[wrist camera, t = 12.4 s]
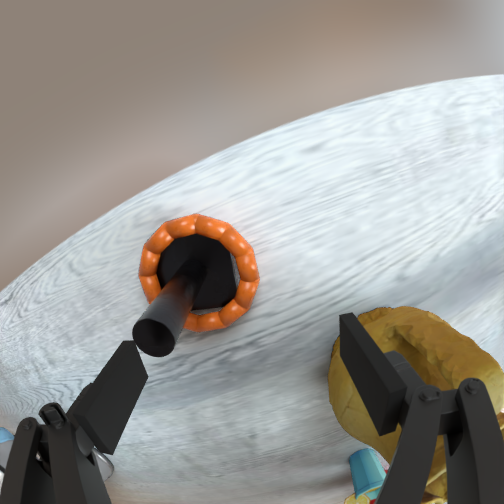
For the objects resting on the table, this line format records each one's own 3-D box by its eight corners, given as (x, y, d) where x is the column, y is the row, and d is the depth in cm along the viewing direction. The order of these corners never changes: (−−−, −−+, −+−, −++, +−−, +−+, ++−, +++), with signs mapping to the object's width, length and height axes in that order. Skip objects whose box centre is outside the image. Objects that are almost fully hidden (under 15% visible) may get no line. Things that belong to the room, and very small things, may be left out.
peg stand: (168, 309, 33) (120, 388, 18) (150, 237, 30) (77, 281, 16) (240, 300, 32) (233, 386, 17) (226, 224, 30) (204, 263, 15)
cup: (393, 430, 39) (420, 485, 25) (397, 445, 41) (421, 495, 26) (328, 460, 41) (342, 519, 26) (338, 472, 43) (352, 525, 28)
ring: (164, 332, 32) (159, 341, 30) (130, 230, 29) (122, 234, 27) (268, 314, 31) (269, 322, 29) (242, 201, 28) (242, 203, 26)
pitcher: (296, 391, 35) (343, 548, 11) (343, 267, 32) (502, 390, 7) (391, 395, 37) (464, 501, 12) (438, 291, 34) (565, 367, 9)
